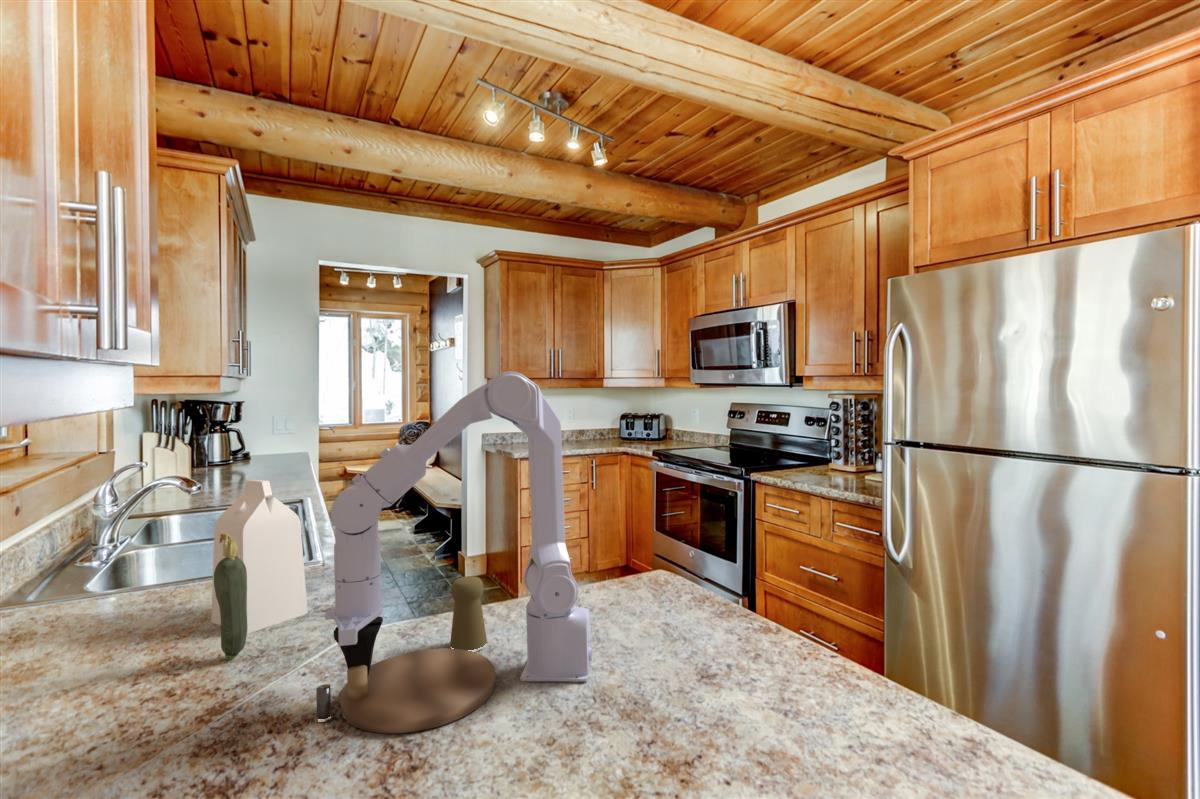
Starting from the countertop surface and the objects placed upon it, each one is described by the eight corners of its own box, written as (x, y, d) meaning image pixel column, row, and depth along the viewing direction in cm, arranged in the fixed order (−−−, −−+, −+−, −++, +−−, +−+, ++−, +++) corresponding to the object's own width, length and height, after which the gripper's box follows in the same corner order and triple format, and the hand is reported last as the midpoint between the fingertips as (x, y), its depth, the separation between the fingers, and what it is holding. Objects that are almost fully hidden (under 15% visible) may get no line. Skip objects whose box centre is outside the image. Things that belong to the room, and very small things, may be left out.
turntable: (471, 647, 91) (470, 616, 92) (516, 702, 74) (515, 664, 74) (334, 680, 82) (333, 645, 82) (349, 752, 64) (348, 708, 64)
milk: (307, 613, 109) (304, 478, 110) (244, 634, 100) (240, 486, 100) (274, 603, 116) (271, 475, 116) (211, 622, 106) (208, 482, 106)
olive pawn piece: (478, 655, 89) (476, 584, 89) (442, 652, 90) (441, 583, 90) (493, 639, 95) (491, 573, 95) (459, 637, 96) (458, 572, 96)
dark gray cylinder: (476, 672, 83) (476, 644, 83) (444, 724, 70) (443, 692, 70) (367, 671, 85) (366, 644, 85) (314, 722, 71) (313, 690, 71)
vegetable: (254, 657, 90) (252, 531, 90) (227, 669, 86) (224, 537, 86) (237, 652, 92) (234, 529, 92) (209, 664, 88) (206, 535, 88)
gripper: (338, 563, 82) (339, 657, 82) (310, 596, 68) (312, 710, 68) (389, 559, 84) (391, 652, 84) (373, 590, 70) (375, 702, 70)
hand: (359, 677), depth 76 cm, fingers closed
